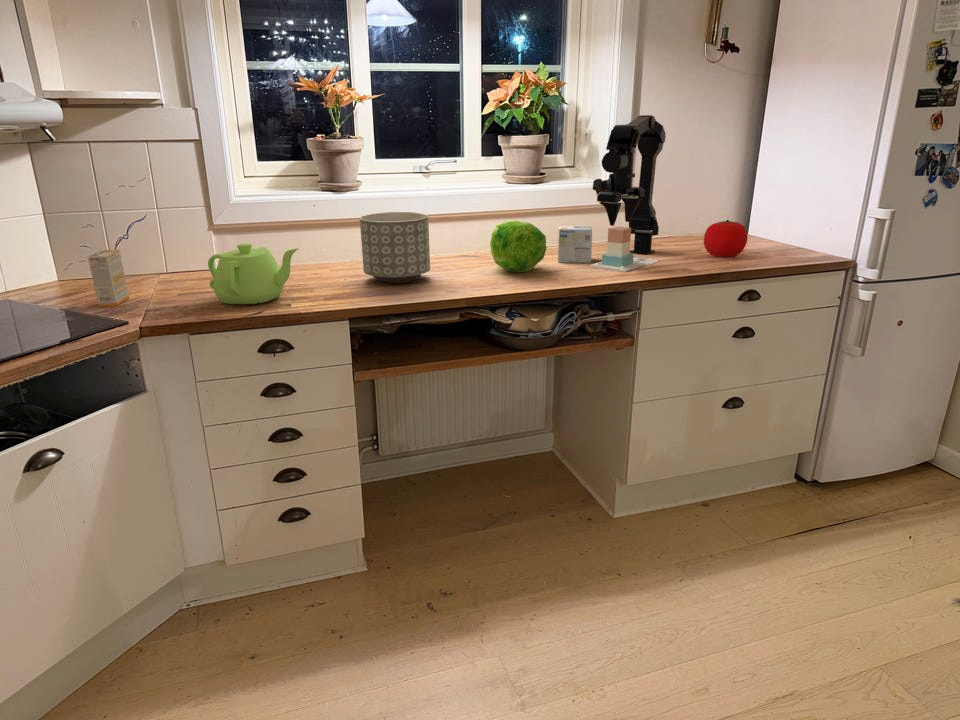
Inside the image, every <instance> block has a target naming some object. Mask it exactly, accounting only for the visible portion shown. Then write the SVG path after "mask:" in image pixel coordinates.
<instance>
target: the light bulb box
mask: <svg viewBox="0 0 960 720" xmlns="http://www.w3.org/2000/svg"><path fill="white" fill-rule="evenodd" d="M557 232H558V233H557V234H558V235H557V236H558V237H557V263H566V264H567V263H571V264H572V263H574V264H575V263H579V264H580V263H581V264H582V263H585V264H586V263H587V264H589V263H592V250H593V249H592V248H593V246H592V245H593V228H592V226H591V225H586V226H585V225H584V226H583V225H582V226H581V225H570V226H569V225H568V226H564V225H563V226H562V225H558V231H557Z"/></svg>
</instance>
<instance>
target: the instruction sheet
mask: <svg viewBox="0 0 960 720" xmlns="http://www.w3.org/2000/svg"><path fill="white" fill-rule="evenodd" d="M633 262H639V263H644V266H645V265H646V266H650V265H653V264H656V263H658V262H660V260H656V259H655V260H654V259H649V258H641V257H634V259H633Z"/></svg>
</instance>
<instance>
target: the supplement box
mask: <svg viewBox="0 0 960 720" xmlns="http://www.w3.org/2000/svg"><path fill="white" fill-rule="evenodd" d="M87 260H88V265H89V269H90V273H91V279H92V282H93V286H94V291H95V296H96V300H97V304H98V307H99V306H107V307H118V306H119V305H120V304H122V303H123V302H125V301H126V300H129V298H130V296H129V290H128V286H127V280H126V275H125V271H124V266H123V260H122V256H121V251H120V249H101V250H99V251H96V252H95V253H93V254H91V255H88V256H87ZM117 305H118V306H117Z"/></svg>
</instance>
